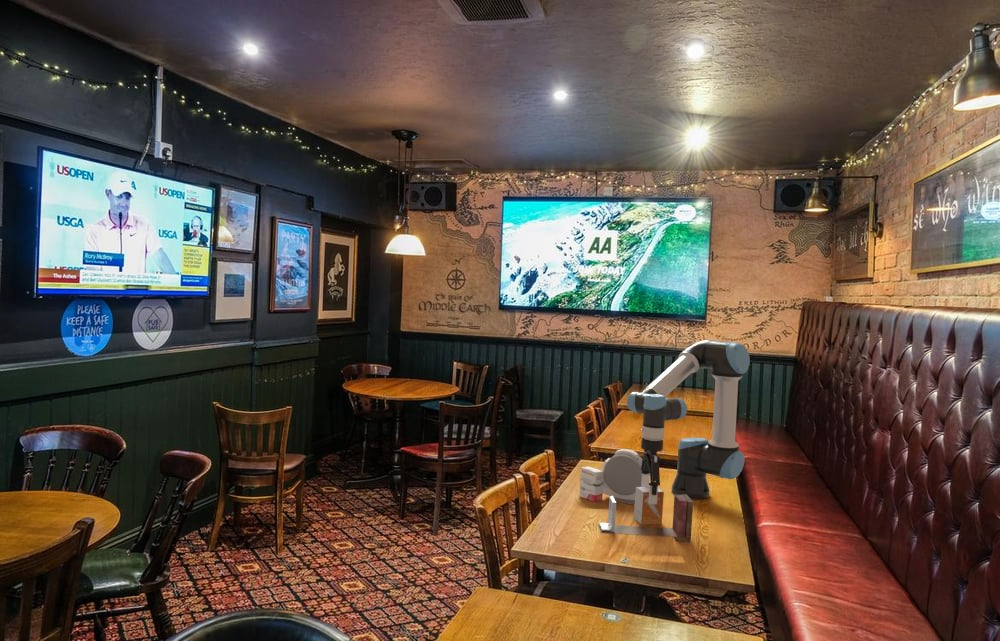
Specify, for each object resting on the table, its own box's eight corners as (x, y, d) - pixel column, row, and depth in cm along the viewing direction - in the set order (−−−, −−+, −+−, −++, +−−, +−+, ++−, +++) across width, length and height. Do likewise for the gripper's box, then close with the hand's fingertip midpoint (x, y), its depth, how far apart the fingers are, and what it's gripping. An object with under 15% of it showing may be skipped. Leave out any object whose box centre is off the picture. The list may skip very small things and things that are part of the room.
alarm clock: (648, 501, 257) (651, 451, 256) (644, 507, 249) (647, 456, 249) (604, 493, 265) (607, 444, 264) (598, 499, 257) (601, 449, 256)
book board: (684, 532, 225) (686, 494, 224) (690, 541, 217) (693, 502, 216) (597, 528, 225) (599, 490, 225) (600, 537, 217) (602, 497, 217)
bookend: (611, 524, 225) (613, 496, 224) (614, 532, 218) (616, 502, 217) (599, 523, 225) (600, 495, 224) (602, 531, 218) (603, 502, 217)
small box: (640, 528, 227) (643, 492, 226) (633, 522, 233) (635, 486, 233) (662, 527, 229) (664, 491, 228) (654, 521, 235) (656, 485, 234)
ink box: (602, 500, 257) (604, 470, 256) (594, 502, 254) (595, 472, 253) (587, 494, 263) (588, 465, 263) (578, 496, 260) (580, 467, 260)
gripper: (635, 430, 242) (631, 486, 243) (649, 445, 217) (645, 508, 218) (655, 431, 242) (651, 487, 243) (671, 447, 217) (667, 509, 218)
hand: (648, 497), depth 230 cm, fingers open, 13 cm apart
